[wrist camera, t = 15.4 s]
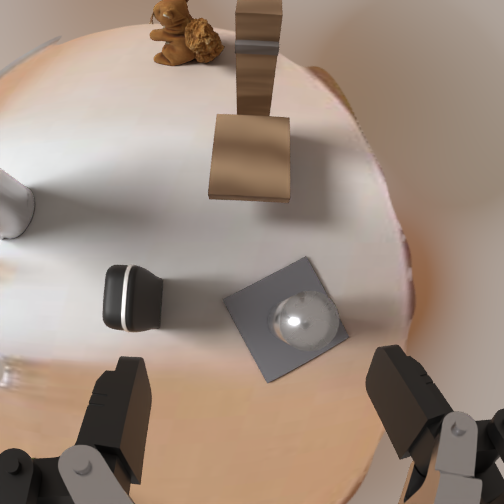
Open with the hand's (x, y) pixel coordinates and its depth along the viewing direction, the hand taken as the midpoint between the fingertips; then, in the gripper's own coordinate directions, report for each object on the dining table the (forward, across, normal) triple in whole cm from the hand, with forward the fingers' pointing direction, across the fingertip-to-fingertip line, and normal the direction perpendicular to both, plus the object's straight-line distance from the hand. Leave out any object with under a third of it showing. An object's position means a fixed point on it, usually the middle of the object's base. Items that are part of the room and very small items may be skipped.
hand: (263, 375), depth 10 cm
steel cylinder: (+24, -7, +15) cm, 29 cm away
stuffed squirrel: (+52, +7, -22) cm, 57 cm away
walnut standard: (+37, -3, -2) cm, 37 cm away
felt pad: (+25, -7, +15) cm, 30 cm away
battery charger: (+28, +11, +14) cm, 33 cm away
